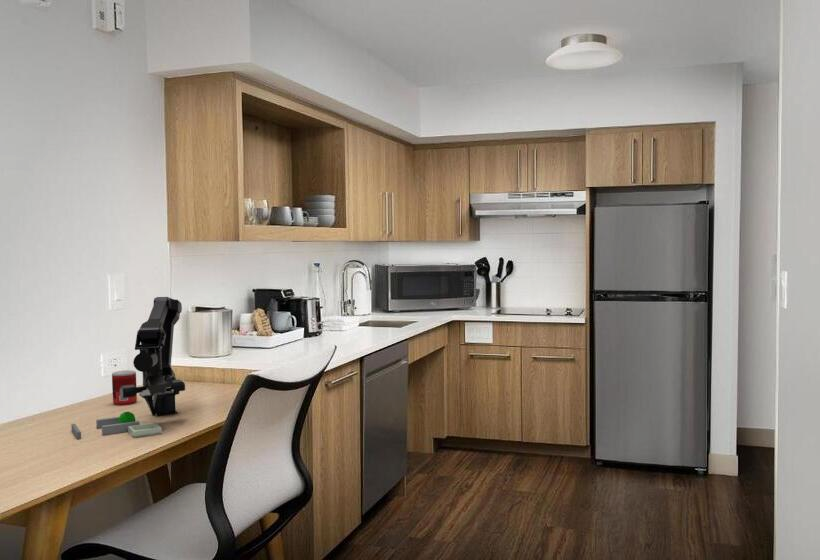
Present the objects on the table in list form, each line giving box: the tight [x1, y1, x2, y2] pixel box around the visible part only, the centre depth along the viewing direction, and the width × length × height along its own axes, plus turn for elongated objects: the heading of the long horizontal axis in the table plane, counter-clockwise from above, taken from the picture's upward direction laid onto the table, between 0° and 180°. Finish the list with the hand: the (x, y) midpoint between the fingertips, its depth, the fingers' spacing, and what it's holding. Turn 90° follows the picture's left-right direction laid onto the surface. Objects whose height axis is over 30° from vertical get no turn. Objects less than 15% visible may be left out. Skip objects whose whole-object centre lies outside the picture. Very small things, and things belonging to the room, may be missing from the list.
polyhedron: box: [118, 411, 137, 423], centre depth 231 cm, size 5×5×5 cm
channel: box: [70, 415, 140, 440], centre depth 228 cm, size 18×12×2 cm
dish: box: [127, 422, 163, 439], centre depth 225 cm, size 8×8×2 cm
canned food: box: [111, 369, 138, 406], centre depth 266 cm, size 8×8×11 cm
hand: (153, 415), depth 236 cm, fingers closed
